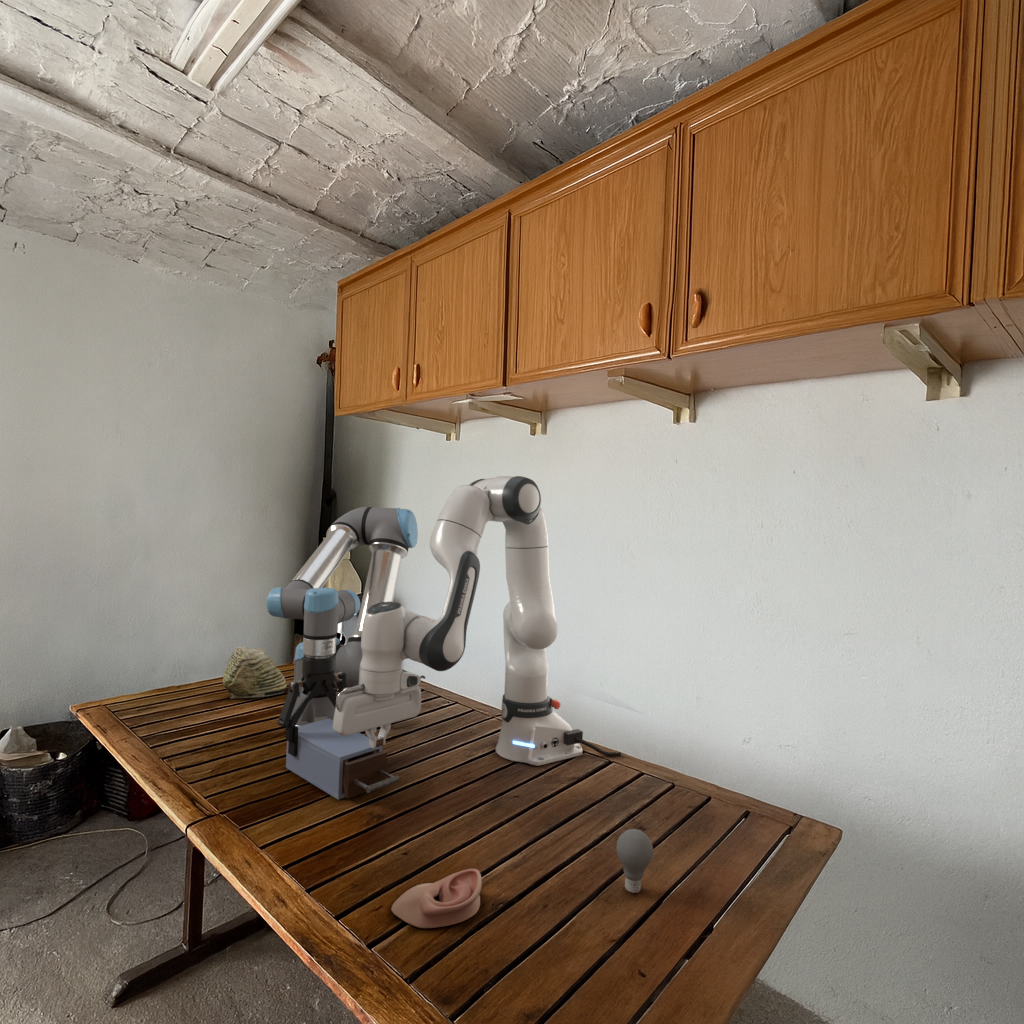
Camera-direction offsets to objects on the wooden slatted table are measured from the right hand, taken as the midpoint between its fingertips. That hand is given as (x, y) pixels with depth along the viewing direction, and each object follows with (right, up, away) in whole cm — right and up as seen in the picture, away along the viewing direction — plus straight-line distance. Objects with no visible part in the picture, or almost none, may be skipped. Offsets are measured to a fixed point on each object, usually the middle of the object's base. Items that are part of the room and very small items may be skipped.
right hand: (377, 746), depth 133 cm
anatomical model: (+17, -13, -33) cm, 39 cm away
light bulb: (+48, -14, -27) cm, 57 cm away
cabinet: (-13, -11, +11) cm, 20 cm away
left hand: (-18, -6, +16) cm, 25 cm away
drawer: (-8, -10, +7) cm, 15 cm away
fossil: (-52, -8, +65) cm, 84 cm away
